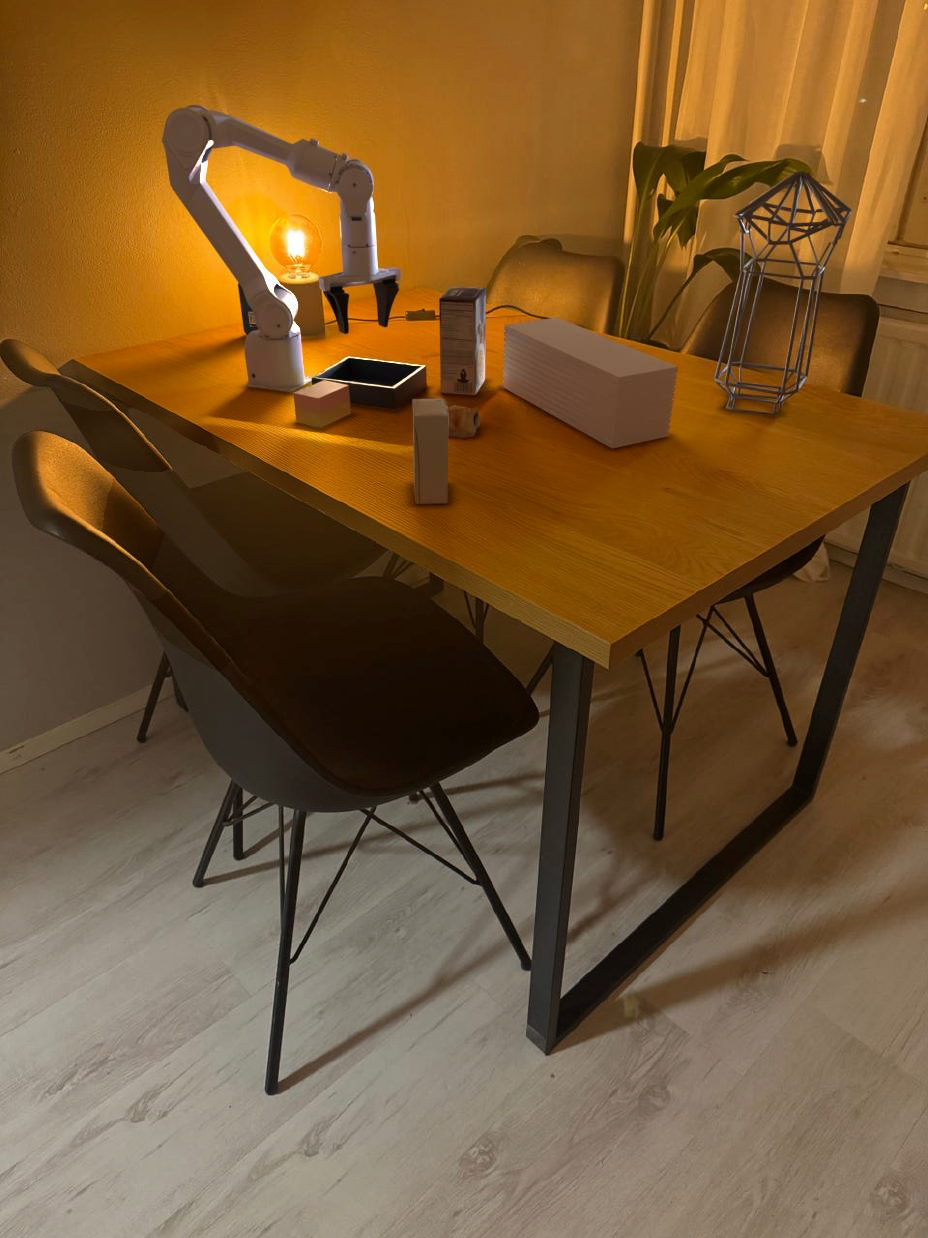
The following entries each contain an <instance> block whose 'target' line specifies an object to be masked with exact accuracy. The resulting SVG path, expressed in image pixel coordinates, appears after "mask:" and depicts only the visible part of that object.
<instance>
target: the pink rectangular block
mask: <svg viewBox="0 0 928 1238" xmlns="http://www.w3.org/2000/svg"><path fill="white" fill-rule="evenodd" d="M292 394H293V403H294V413H295V422H296V423H300V424H304V425H308V426H311V427H312V426H313V427H315V428H319V429H320V428H323V427H325V426H327V425H329V424H332V423H334V422H336V421H338V420H340V419H342V418H345V417H346V416H347V417H348V416H349V415H351V414H352V411H351V404H350V395H349V385H345V384H341V383H336V382H331V381H327V380H323V381H321V382H319V383H316V384H314V385H312V384H311V385H308V386H307V387H304V388H302V389H300V390H299V389H298V390H296V391H294V392H292Z"/></svg>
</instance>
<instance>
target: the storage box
mask: <svg viewBox="0 0 928 1238" xmlns="http://www.w3.org/2000/svg"><path fill="white" fill-rule="evenodd" d="M311 377H312V378H311V379H312V381H311V385H314V384H316V383H319V382H321V381H323V380H327V381H331V382H336V383H341V384H345V385H349V395H350V405H358V406H365V407H371V408H379V409H386V410H393V411H396V410H397V409H399V407H401V406H402V405H404V404H405V403H406V402H408V401H409V400H411V399H413V397H414V396H415V395H418V393H420V392H421V391H422V390H424V389H425V388H426V387H427V386H428V385H427V383H428V382H427V365H422V364H415V363H406V362H398V361H390V360H389V361H388V360H381V359H373V358H364V357H356V356H346V357H344V358H343V359H341V360H339V361H338V362H336V363H334V364H332V365H330V366H329V367H327V368H326V369H324V370H322V371H320V372H319V373H317V374H315V375H314V376H311Z"/></svg>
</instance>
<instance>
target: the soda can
mask: <svg viewBox="0 0 928 1238" xmlns="http://www.w3.org/2000/svg"><path fill="white" fill-rule="evenodd" d="M237 289H238V297H239V303H240V304H239V305H240V313H241V319H242V320H241V321H242V327H243V331H244V333H245V335H246V336H247V335H248V334H249V333H250V332H252V331H257V330H258V327H257V325H256V322H255V318H254V313H253V311H252V309H251V307H250V306H249V304H248V303H247V300H246V297H245V294H244V291H243V289H242V287H241V286H240V284H239V283H238V282H237Z"/></svg>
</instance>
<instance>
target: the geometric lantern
mask: <svg viewBox="0 0 928 1238" xmlns="http://www.w3.org/2000/svg"><path fill="white" fill-rule="evenodd" d="M802 184H803V188H804V191H805V195H806V198H807V202H808V205H809V209H807V208H806V209H805V208H798V204H799V198H800V194H801V188H802ZM794 186H795V188H794ZM787 187H788V188H787ZM785 188H787V189H786V191H785V193H784V195H783V196H782V198H781V199H780V201H779V202H778V204H773V203H770V202H768V201H769V200H771V198H774V196H776V195H777V194H779V193H780V192H781V191H783V190H785ZM793 189H794V193H793V198H792V203H791V207H787V206H784V203H785V202H786V200H787V199H788V197H789V195H790V193H791V192H792V191H793ZM811 194H812V195H813V197H814V199H815V200H816V202H817V204H818V205H819V207H820V208H817V209H816V210H815V205H814V203H813V199H812V195H811ZM830 200H831V201H832V202H833V203H832V202H831V201H830ZM834 204H835V205H836V206H837V207H836V206H835V205H834ZM761 207H762V208H763V209H764V210H765V211H767V213H769V214H770V215H771V217H770V216H769V217H768V216H763V215H757V214H754V213H755V212H757V210H759V209H760V208H761ZM773 209H774V210H773ZM780 211H784V212H789V213H790V216H789V221H788V222H787V221H786V220H785V219H784V218H782V217H781V216H780V215H779V214H778V213H779V212H780ZM844 212H846V213H845V215H844V216H843V215H842V213H844ZM797 213H799V214H808V215H811V218H810V220H809V221H808V222H795V219H796V217H797ZM818 213H819V214H821V213H824V215H825V217H826V218H825V219H822V220H821V221H814V219H815V216H816V214H818ZM852 213H853V209H852V207H850V206H848V205H847V204H846V203H844V202H843V201H842V200H841V199H839V197H837V196H836V195H834V194H833V193H832V192H831V191H830V190H828V189H827V188H826V187H825V186H824V185H822V184H821V183H820V182H819V181H818V180H816V178H814V177H813V176H812V175H811V173H810V172H806V171H804V170H802V171H799V170H796V171H793V172H792V173H791V174H789V175H788V176H787V177H785V178H784V179H782V180H781V181H779V182H778V183H776V184H775V185H773V186H772V187H770V188H768V190H766V191H764V192H763V193H762V194H760V195H758V196H757V197H756V198H754V199H752V200H751V201H749V202H748V203H747V205H746V206H745V207H742V208H741V209H739V210H738V211H736V212H735V213H734V214H733V217H735V219H736V221H737V224H738V226H739V233H740V262H739V264H740V267H739V271H740V273H739V278H738V281H737V285H736V290H735V294H734V298H733V300H732V301H733V302H732V306H731V310H730V312H729V313H730V314H729V318H728V322H727V326H726V329H725V334H724V339H723V342H722V345H721V350H720V354H719V358H718V361H717V367H716V370H715V375H714V378H713V379H714V382H715V384H716V385H717V386H718V387H719V388H720V389H721V390H722V391H723V392H724V393H725V394H726V395H727V396H728V397H729V398H728V402H727V404H726V407H725V408H726V410H729V411H732V412H740V413H741V412H742V413H750V414H759V415H768V416H769V415H770V416H776V415H780V414H781V410H782V407H783V404H784V401H786V400H788V399H789V398H791V397H792V396H793V395H795V394H796V393H797V394H798V393H799V391H800V389H801V388H802V387H803V385H804V384H805V382H806V381H807V379H808V376H809V371H810V366H811V365H810V364H811V358H812V352H813V345H814V340H815V339H814V338H815V332H816V328H817V327H816V326H817V320H818V314H819V307H820V301H821V293H822V289H823V281H824V276H825V268H826V266H827V264H828V262H829V260H830V258H831V256H832V255H833V254H832V253H833V252H834V250H835V248H836V245H838V241H839V240H841V239H842V236H843V233H844V229H845V227H846V225H847V222H848V221H849V219H850V217H851V215H852ZM744 220H745V221H744ZM754 220H757V221H763V222H767V233H765V232H764V231H763V230H762V229H761V228H760V227H759V226H758V224H756V222H754ZM772 225H777V226H781V227H782V226H783V227H785V229H784V230H783V232H782V233H781V234H780V236H778V238H777V239H776V240H773V239H771V229H772ZM832 226H833V227H835V228H837V229H836V232H835V234H834V237H833V240H832V242H831V241H829V242H828V244H827V246H826V247H825V249H824V251H823V252H822V254H821V256H820V258H819V260H818V257H817V253H816V250H815V248H814V244H813V241H812V238H811V236H812V235H815V234H816V233H818V232H821V231H823V230H825V229H827V228H830V227H832ZM803 227H805V228H803ZM806 227H807V229H806ZM752 228H753V229H754V230H755V231H756V232H757V233H758V234H759V235H760V236H761V237H762V239H764V240H765V241H766V242H767V243H766V244H765V245H764V247H763V248H762V249H761V250H760V251H759V253H758V254H757V253H756V250H755V249H756V248H755V245H754V241H753V238H752V233H751V232H752ZM791 231H794V232H798V233H803V234H801V235H799V236H796V237H793V238H792V239H791ZM747 234H748V237H749V241H750V244H751V250H752V252H753V257H754V258H752V257H751V259H749V260H748V261H747V262H746V263H745V235H747ZM786 235H787V236H786ZM785 236H786V237H787V238H786V240H782V239H783V238H784V237H785ZM806 238H807V239H808V242H809V245H810V247H811V251H812V254H813V256H814V260H815V262H808V261H799V258H798V256H797V253H796V250H795V247H794V243H797V242H799V241H801V240H803V239H806ZM785 245H786V246H789V249H790V251H791V254H792V257H793V260H785V259H775V258H769V257H770V255H771V254H772V252H773V251H774V250H775V248H776V247H777V246H785ZM769 246H771V247H770V249H768V251H767V252H766V254H765V255H764V257H760V256H761V255H762V253H764V251H765V250H766V249H767V248H768V247H769ZM828 249H829V250H828ZM827 251H828V252H827ZM826 253H827V254H826ZM825 255H826V257H825ZM824 257H825V259H824ZM823 259H824V261H823ZM822 261H823V263H822V264H821V262H822ZM767 262H772V263H783V264H793V265H794V264H795V265H796V268H797V271H798V273H799V275H789V274H782V273H771V272H765V271H766V266H767ZM756 263H762V265H761V270H760V271H755V267H756ZM801 265H802V266H803V265H804V266H815V267H814V268H813V270H812V273H811V274H810V275H805V274H804V272H803V269H802V266H801ZM749 269H750V270H749ZM754 275H759V279H758V283H757V288H756V292H755V296H754V301H753V305H752V310H751V314H750V319H749V322H748V326H747V327H748V328H747V332H746V337H745V341H744V345H743V349H742V354H741V358H740V361H737V362H736V361H733V359H734V353H735V349H736V346H737V341H738V337H739V333H740V328H741V324H742V320H743V317H744V312H745V309H746V304H747V300H748V296H749V292H750V288H751V284H752V280H753V276H754ZM765 276H767V277H768V276H769V277H776V278H777V277H778V278H785V279H793V280H800V282H799V286H798V292H797V297H796V302H795V308H794V309H795V310H794V314H793V319H792V327H791V332H790V338H789V343H788V350H787V354H786V360H785V367H781V366H775V365H774V366H773V365H765V364H760V363H759V364H758V363H753V362H745V359H746V354H747V351H748V347H749V343H750V342H749V341H750V337H751V332H752V328H753V324H754V320H755V315H756V310H757V306H758V302H759V297H760V293H761V289H762V285H763V280H764V277H765ZM818 278H819V279H818ZM806 280H807V281H811V284H810V289H809V297H808V301H807V307H806V312H805V316H804V320H803V321H804V322H803V326H802V330H801V334H800V340H799V344H798V349H797V355H796V358H795V363H794V367H793V368H790V363H791V358H792V352H793V348H794V347H793V346H794V341H795V334H796V328H797V324H798V318H799V312H800V307H801V306H800V305H801V301H802V295H803V288H804V283H805V281H806ZM817 281H818V286H817V291H816V285H817ZM740 291H741V292H740ZM815 291H816V297H815V304H814V311H813V317H812V323H811V329H810V330H811V331H810V335H809V336H810V337H809V342H808V343H809V344H808V350H807V356H806V364H805V370H804V372H802V369H803V361H804V356H805V351H806V343H807V336H808V332H809V331H808V330H809V324H810V318H811V311H812V306H813V300H814V295H815ZM739 295H740V298H739ZM738 300H739V302H738ZM737 303H738V307H737ZM736 307H737V308H738V309H737V314H736V318H735V319H736V320H735V323H734V324H735V325H734V330H733V335H732V340H731V346H730V351H729V356H728V361H727V364H726V365H725V366H724V367H723V368H722V369H721V367H722V363H723V359H724V355H725V350H726V347H727V344H728V343H727V342H728V340H729V336H730V331H731V327H732V324H733V319H734V315H735V311H736ZM734 366H735V367H737V366H739V367H738V368H739V371H738V381H737V379H736V376H735V374H734V372H733V370H732V367H734ZM743 366H744V367H750V368H758V369H764V370H765V369H766V370H771V371H772V370H773V371H780V372H783V378H782V384H781V385H771V384H761V383H752V382H743V381H742V375H743V374H742V373H743V372H742V371H743V370H742V368H743ZM724 373H725V378H724V380H722V379H720V378H721V377H722V376H723V375H724ZM789 373H790V374H789ZM788 374H789V375H788ZM794 374H796V379H795V381H794V382H793V383H790V385H788V386H787V383H788V381H789V380H790V379H791V378H792V377H793V375H794ZM730 375H731V377H732V380H733V382H734V383H733V382H729V380H730ZM786 386H787V387H786ZM793 386H794V389H791V390H789V389H790V388H792V387H793ZM725 387H726V388H727V389H726V388H725ZM730 387H732V389H731V388H730ZM768 388H769V389H768ZM770 388H771V389H770ZM741 389H743V390H749V391H754V392H760V393H765V394H771V395H763V394H753V393H744V392H741ZM773 389H775V390H773ZM776 389H777V390H776ZM736 391H737V393H736ZM773 395H776V396H773ZM760 398H762V399H760ZM763 398H764V399H763ZM737 399H738V400H745V401H752V402H758V403H764V404H771V405H773V409H772V410H773V411H772V412H769V411H761V410H751V409H742V408H741V409H740V408H736V404H737ZM765 399H766V400H765ZM767 399H773V400H776V401H772V400H767ZM731 404H732V407H731ZM777 405H779V406H778V409H777Z"/></svg>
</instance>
